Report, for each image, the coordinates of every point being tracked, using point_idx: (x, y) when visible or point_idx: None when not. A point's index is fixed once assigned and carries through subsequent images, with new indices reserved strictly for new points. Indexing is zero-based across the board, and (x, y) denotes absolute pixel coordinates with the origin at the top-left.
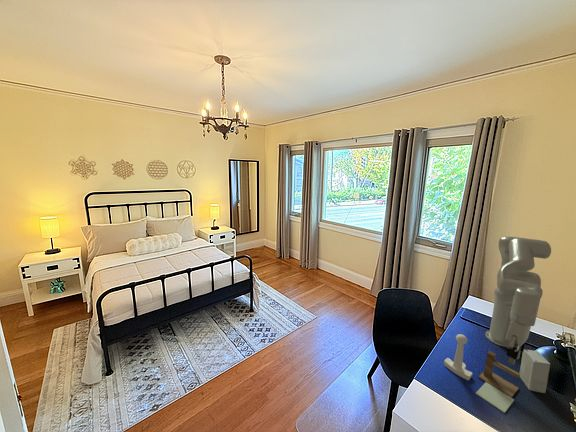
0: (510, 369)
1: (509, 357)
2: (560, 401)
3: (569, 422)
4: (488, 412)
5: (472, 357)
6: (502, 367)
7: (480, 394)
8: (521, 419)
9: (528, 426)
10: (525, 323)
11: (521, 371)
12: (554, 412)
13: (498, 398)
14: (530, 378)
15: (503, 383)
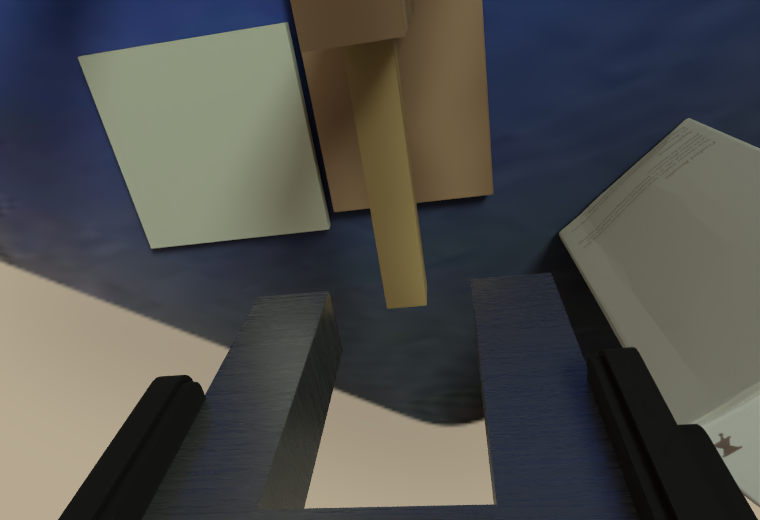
0: (402, 223)
1: (225, 377)
2: None
3: (476, 420)
4: (49, 193)
5: None
6: (361, 152)
7: (103, 86)
8: (223, 305)
9: (216, 339)
10: None
11: (693, 160)
12: None
13: (218, 173)
14: (595, 276)
15: (421, 112)
